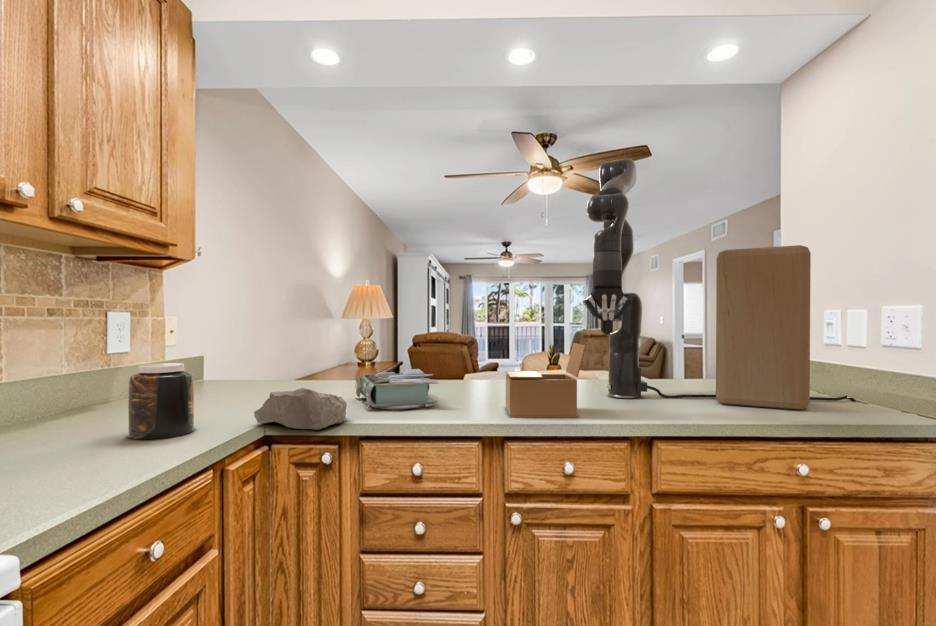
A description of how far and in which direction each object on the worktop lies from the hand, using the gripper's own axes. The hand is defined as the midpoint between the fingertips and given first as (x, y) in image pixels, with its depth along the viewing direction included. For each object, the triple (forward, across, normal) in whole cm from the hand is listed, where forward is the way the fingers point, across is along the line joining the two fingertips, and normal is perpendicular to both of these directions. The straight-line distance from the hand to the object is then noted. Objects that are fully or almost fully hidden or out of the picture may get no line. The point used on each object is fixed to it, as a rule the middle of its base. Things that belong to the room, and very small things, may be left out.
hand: (606, 334), depth 129 cm
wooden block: (+21, -50, -15) cm, 56 cm away
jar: (+22, +104, +24) cm, 109 cm away
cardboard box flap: (+7, +9, 0) cm, 11 cm away
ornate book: (+21, +58, -15) cm, 63 cm away
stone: (+21, +77, +14) cm, 81 cm away
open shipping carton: (+21, +18, 0) cm, 27 cm away
